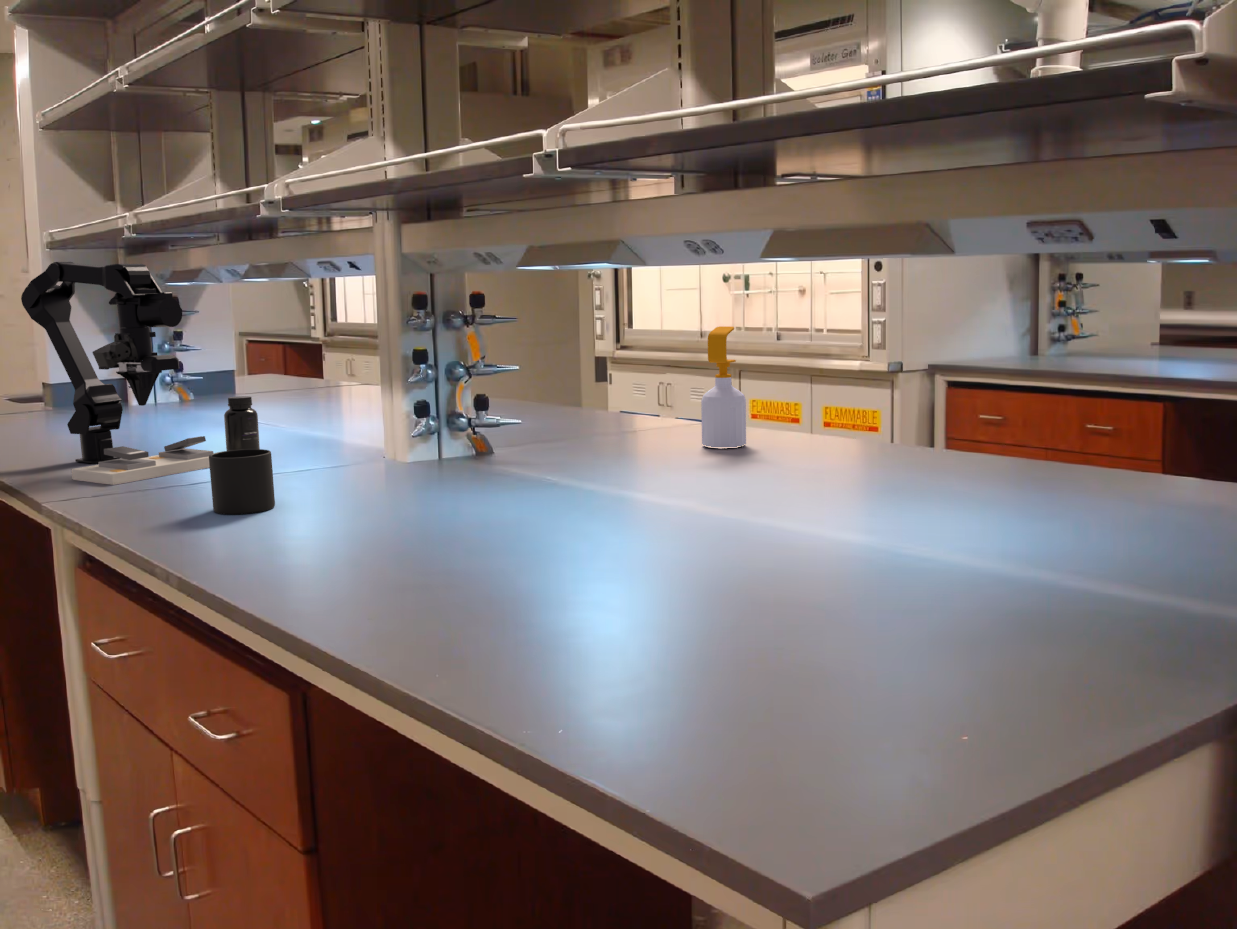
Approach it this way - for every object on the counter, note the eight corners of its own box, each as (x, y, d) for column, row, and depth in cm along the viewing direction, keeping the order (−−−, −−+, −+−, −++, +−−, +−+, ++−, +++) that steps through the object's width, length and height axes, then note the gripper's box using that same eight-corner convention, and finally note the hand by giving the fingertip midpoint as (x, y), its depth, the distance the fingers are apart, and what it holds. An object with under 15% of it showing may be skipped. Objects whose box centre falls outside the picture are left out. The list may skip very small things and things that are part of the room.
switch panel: (72, 479, 213) (70, 464, 213) (186, 460, 234) (185, 446, 234) (113, 485, 206) (111, 469, 206) (227, 464, 227) (226, 450, 227)
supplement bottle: (254, 455, 239) (249, 398, 237) (222, 455, 239) (217, 399, 237) (264, 450, 246) (260, 394, 244) (233, 450, 246) (229, 395, 244)
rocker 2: (165, 451, 226) (163, 446, 226) (182, 448, 229) (181, 443, 229) (188, 443, 222) (187, 438, 222) (205, 440, 225) (204, 435, 225)
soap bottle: (753, 444, 235) (752, 325, 231) (733, 450, 228) (732, 328, 224) (714, 442, 240) (713, 325, 236) (694, 448, 232) (692, 327, 228)
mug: (270, 498, 189) (266, 445, 188) (278, 511, 179) (274, 454, 177) (210, 504, 186) (206, 449, 184) (215, 517, 175) (210, 459, 174)
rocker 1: (104, 454, 215) (103, 448, 215) (123, 451, 219) (122, 445, 218) (129, 460, 211) (129, 454, 211) (148, 457, 214) (148, 451, 214)
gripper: (69, 329, 224) (78, 407, 226) (126, 329, 214) (134, 411, 216) (120, 326, 233) (128, 402, 236) (177, 326, 223) (184, 405, 225)
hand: (142, 405), depth 228 cm, fingers closed
